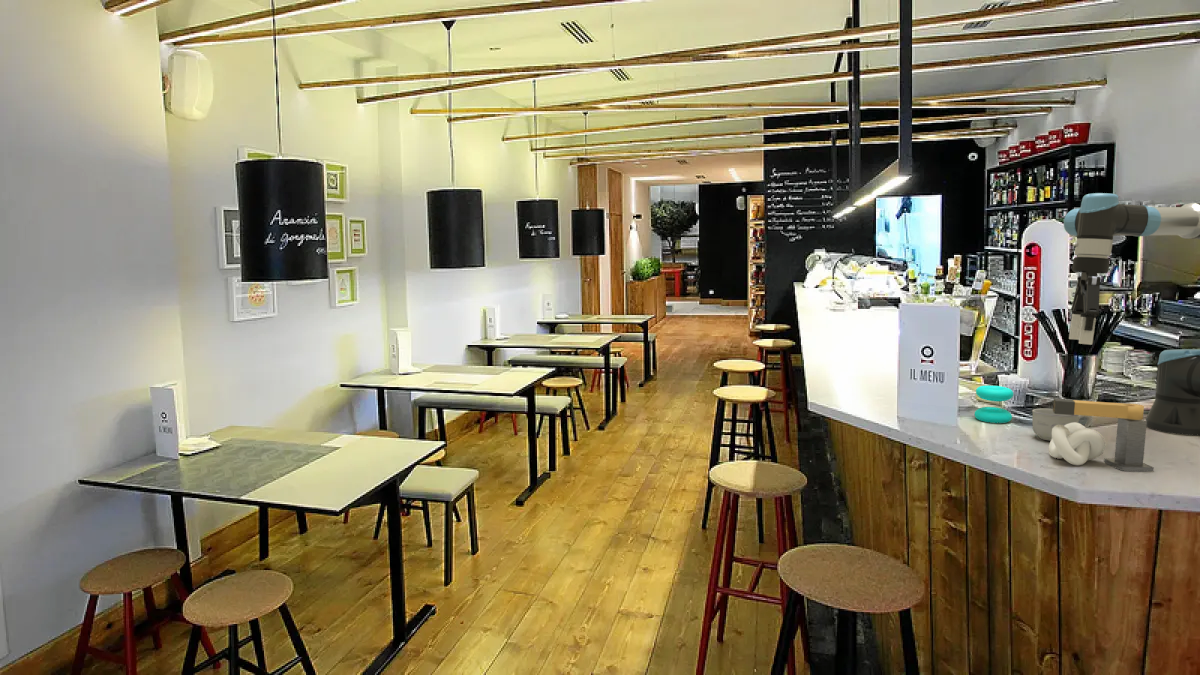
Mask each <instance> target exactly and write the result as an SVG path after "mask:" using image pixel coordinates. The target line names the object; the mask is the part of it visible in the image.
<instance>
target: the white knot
mask: <svg viewBox="0 0 1200 675" xmlns="http://www.w3.org/2000/svg"><path fill="white" fill-rule="evenodd" d="M1105 448H1106V440H1105V438H1104V436H1103V435H1102V434H1101V433H1100V432H1099V431H1097V430H1095V429H1093V428H1085V427H1084V426H1083V424H1082V423H1079V422H1078V423H1076V422H1074V423H1069V424H1066V425H1064V426H1063V425H1056V426H1054V427H1053V428H1052V439H1051V441H1050V442H1049V445H1048V453H1049V455H1050V456H1051V457H1052V458H1054V459H1056V458H1057V460H1059V459H1060V460H1062V459H1064V460H1065V461H1066V462H1067V463H1069V464H1071V465H1073V466H1082V465H1085V464H1086V462H1087V461H1092V460H1096V459H1097V458H1099V457H1100V456H1102V454H1103V453H1104V451H1105Z"/></svg>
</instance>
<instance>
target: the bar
mask: <svg viewBox="0 0 1200 675" xmlns="http://www.w3.org/2000/svg"><path fill="white" fill-rule="evenodd" d="M1144 408H1145V406H1144V405H1143V404H1138V403H1123V402H1121V403H1119V402H1118V403H1117V402H1105V401H1092V400H1078V399H1074V400H1073V399H1072V398H1071V399H1070V398H1056V397H1055V398H1053V404H1052V409H1053V412H1054V413H1055V414H1065V415H1085V416H1090V417H1100V418H1113V419H1118V418H1125V419H1133V420H1144V410H1145V409H1144Z"/></svg>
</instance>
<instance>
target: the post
mask: <svg viewBox="0 0 1200 675" xmlns="http://www.w3.org/2000/svg"><path fill="white" fill-rule="evenodd" d="M1146 425H1147V421H1146V420H1144V419H1142V420H1133V419H1125V418H1117V426H1116V440H1115V450H1114V451H1115V452H1114V458H1113V457H1112V458H1111V457H1109V458H1107V457H1106V458H1104V459H1103V463H1104V462H1105V464H1106V463H1107V465H1108V464H1109V466H1110V467H1113V468H1115V467H1116V468H1115V469H1117V468H1118V469H1117V470H1119V469H1120V470H1119V471H1121V470H1124V471H1123V472H1147V471H1153V472H1154V471H1155V467H1153V466H1151V465H1150V464H1148V463H1145V462H1144V458H1145V457H1144V456H1145V445H1146V435H1147V434H1146V433H1147V426H1146Z"/></svg>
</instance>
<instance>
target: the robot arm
mask: <svg viewBox="0 0 1200 675" xmlns="http://www.w3.org/2000/svg"><path fill="white" fill-rule="evenodd" d="M1081 200H1082V201H1081V203H1080V207H1078V208H1073V209H1071V210H1070V211H1068V212H1067V213H1066V215H1065V216H1064V219H1063V228H1064V230H1065V231H1066V233H1067V234H1068V235H1070V236H1073V237H1076V242H1073V243H1072V246H1073V247H1075V248H1074V254H1075V255H1076V257H1074V258H1073V260H1072V261H1073V263H1072V267H1071V268H1072V269H1071V270H1072V271H1073V272H1074V273H1081V275H1078V276H1077V282H1076V287H1075V291H1074V296H1073V300H1072V304H1071V307H1070V310H1071V312H1072V313H1071V319H1070V320H1071V321H1070V327H1069V334H1068V339H1069V340H1077V341H1078V344H1080V345H1081V344H1082V345H1090V346H1091V345H1093V343H1094V335H1095V328H1096V322H1097V317H1098V316H1099V315H1100V293H1101V292H1100V289H1101V287H1100V286H1101V281H1102V277H1101V276H1098V274H1108V273H1109V270H1110V269H1109V268H1110V262H1111V261H1110V258H1109V257H1110V256H1112V255H1111V254H1112V250H1113V242H1114V236H1115V237H1116V236H1119V237H1120V236H1122V237H1123V236H1133V237H1139V238H1140V237H1149V236H1178V237H1180V238H1181V239H1186V240H1189V239H1190V240H1191V239H1196V240H1200V202H1190V203H1186V204H1184V205H1182V206H1160V207H1159V206H1158V207H1157V206H1156V207H1155V206H1154V207H1153V206H1148V205H1145V204H1142V205H1139V204H1138V205H1137V204H1125V203H1124V204H1122V203H1120V201H1119V195H1118V194H1115V193H1107V192H1106V193H1105V192H1104V193H1103V192H1095V193H1094V192H1093V193H1088V194H1085V195H1084V196H1083V197H1082V199H1081ZM1158 356H1159V357H1158V362H1157V369H1156V370H1157V371H1156V382H1155V384H1156V385H1155V395H1154V396H1155V397H1154V401H1153V404H1152V405H1151V407H1150V409H1149V412H1148V413H1147V415H1146V417H1145V421H1147V425H1146V428H1148V429H1151V430H1154V431H1159V432H1162V433H1169V434H1174V435H1184V436H1200V348H1199V349H1198V348H1196V349H1195V348H1192V349H1191V348H1188V349H1187V348H1183V349H1182V348H1180V349H1164V350H1163V351H1161V352H1160V354H1159V355H1158Z"/></svg>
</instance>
